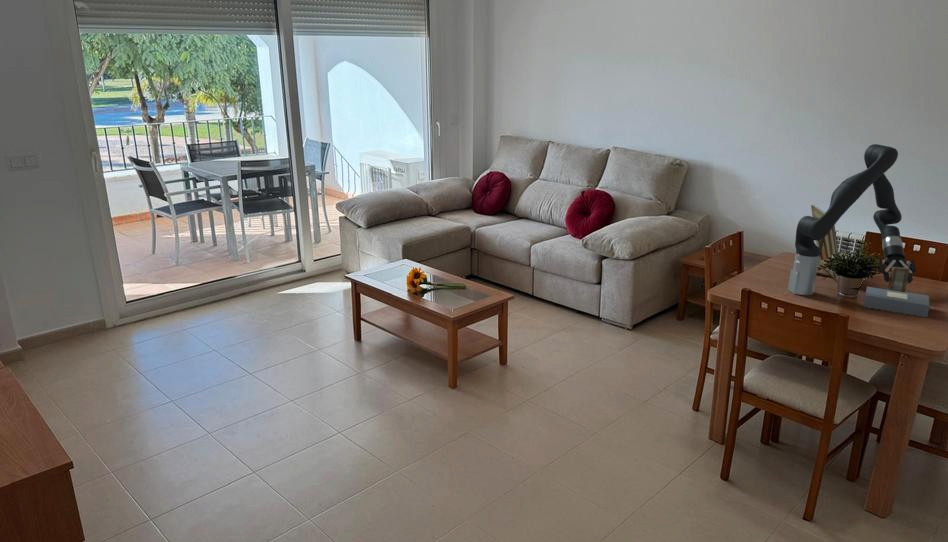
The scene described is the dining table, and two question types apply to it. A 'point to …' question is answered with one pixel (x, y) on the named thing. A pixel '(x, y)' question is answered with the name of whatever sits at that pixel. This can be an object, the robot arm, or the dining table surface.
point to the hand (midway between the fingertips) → (898, 281)
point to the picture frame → (826, 242)
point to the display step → (897, 301)
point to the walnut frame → (898, 279)
